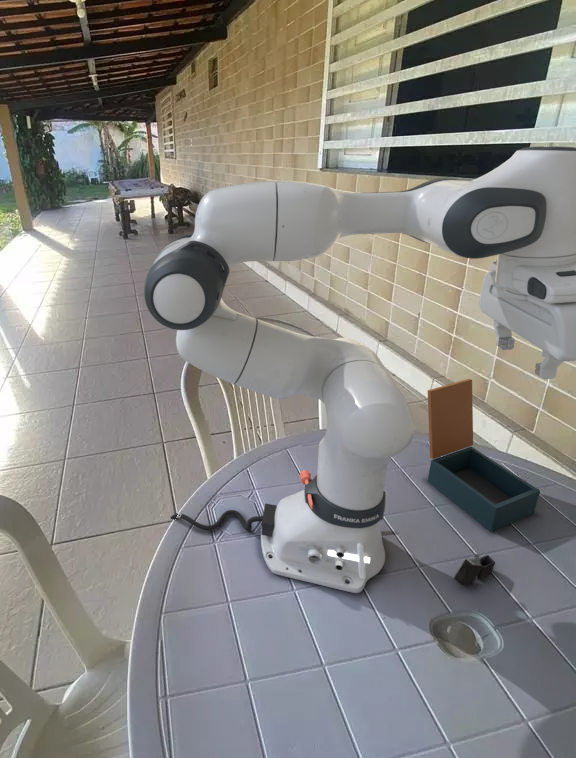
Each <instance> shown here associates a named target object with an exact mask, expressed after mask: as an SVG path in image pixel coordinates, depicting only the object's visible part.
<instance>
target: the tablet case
mask: <svg viewBox="0 0 576 758" xmlns="http://www.w3.org/2000/svg"><path fill="white" fill-rule="evenodd" d="M469 468H470V469H471V470H472V471H474V472H475V473H477V474H478V475H480V476H481V477H482V478H484V479H485V480H487V481H488V482H490V483H491V484H493V485H494V486H495V487H497V488H498V489H500V490H501V491H503V492H504V493H506V494H507V495H508V496H510V497H511V498H510V499H508V500H505V501H503V502H500V503H498V504H494V503H493V502H491V501H490V500H489V499H487V498H486V497H485V496H483V495H482V494H481V493H479V492H478V491H476V490H475V489H474V488H472V487H471V486H470V485H468V484H467V483H466V482H464V481H463V480H461V479H460V478H459V477H457V476H456V475H455V473H458V472H461V471H463V470H466V469H469ZM427 482H428V483H429V484H430V486H431V485H432V486H433V487H434V488H435V489H436V490H438V491H439V493H441V494H443V495H444V496H445V497H447V499H448V500H450V501H451V502H453V504H455V505H456V506H457V507H459V508H460V509H461V510H463V511H464V512H465V513H466V514H467V515H469V516H470V517H471V518H472V519H474V520H475V521H476V522H477V523H479V524H480V525H481V526H483V528H485V529H486V530H488V532H494V531H496V530H498V529H501V528H503V527H505V526H507V525H511V524H512V523H514V522H517V521H519V520H521V519H524V518H527V517H529V516H530V515H533V514H534V513H535V510H536V507H537V503H538V500H539V496H540V493H541V490H540V489H538V488H537V487H535V486H534V485H532V483H529V482H528V481H527V480H524V479H523V478H522V477H519V476H518V475H517V474H515V473H514V472H512V471H511V470H509V469H507V468H506V467H505V466H503V465H501V464H499V463H498V462H497V461H495V460H494V459H492V458H491V457H489V456H487V455H486V454H484V453H482V451H479V450H478V449H476V448H475V447H473V446H469V447H467V448H464V449H461V450H458V451H455V452H452V453H449V454H446V455H443V456H440V457H437V458H434V459H431V460H430V466H429V469H428V476H427Z"/></svg>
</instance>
